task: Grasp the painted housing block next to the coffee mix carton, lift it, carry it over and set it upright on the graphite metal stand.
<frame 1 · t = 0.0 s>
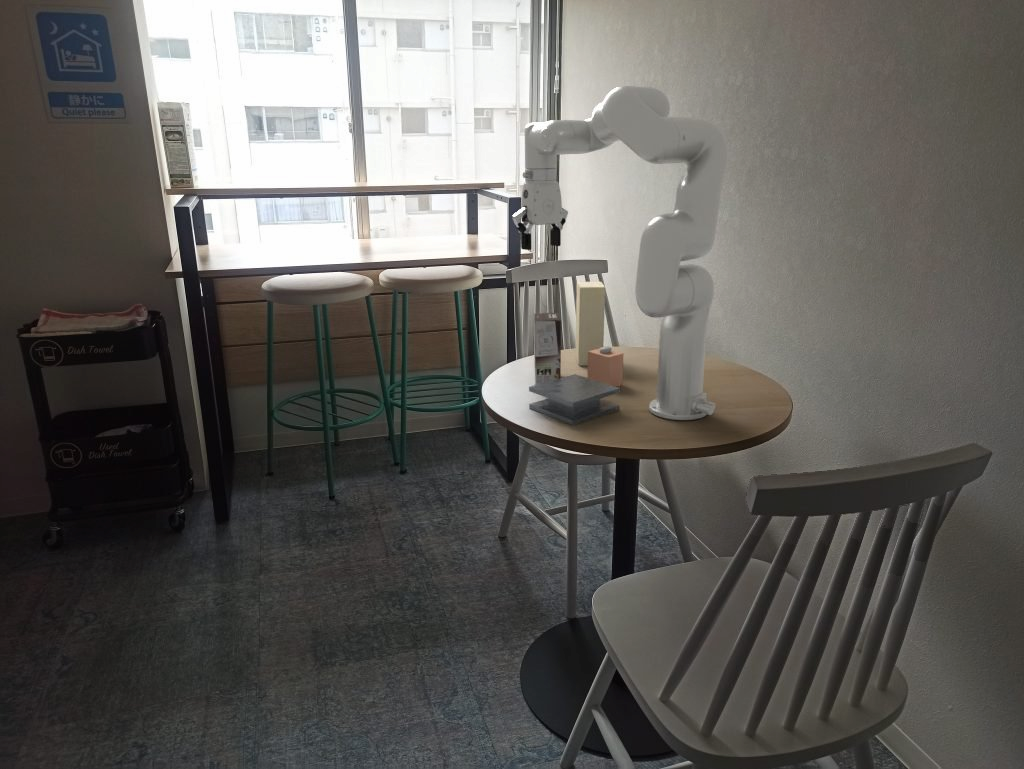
hand: (541, 247, 181), 31 cm above the table, tool pointing down, fingers open, 9 cm apart
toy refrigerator: (590, 362, 195), on the table
coffee box: (547, 380, 180), on the table
housing: (604, 383, 176), on the table
stand: (574, 409, 159), on the table
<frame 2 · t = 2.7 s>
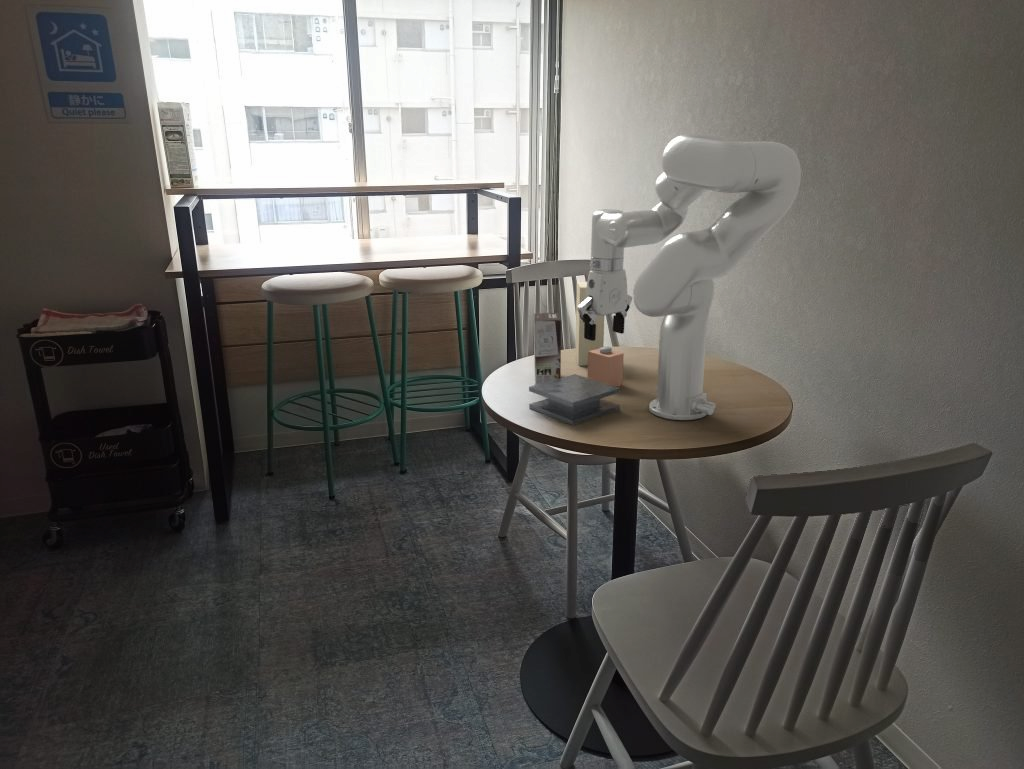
hand: (604, 335, 173), 12 cm above the table, tool pointing down, fingers open, 9 cm apart
nothing on the table moved.
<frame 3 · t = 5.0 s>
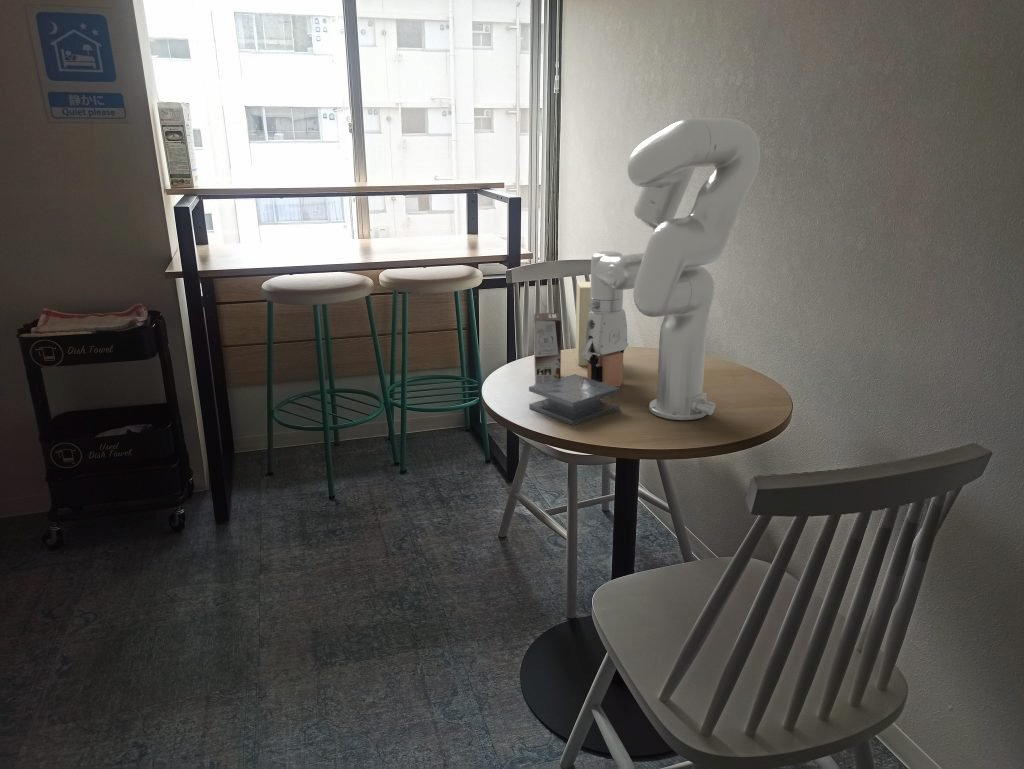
hand: (604, 377, 176), 1 cm above the table, tool pointing down, fingers closed on housing, 5 cm apart
housing: (604, 383, 176), on the table, touching gripper
everything else where it was.
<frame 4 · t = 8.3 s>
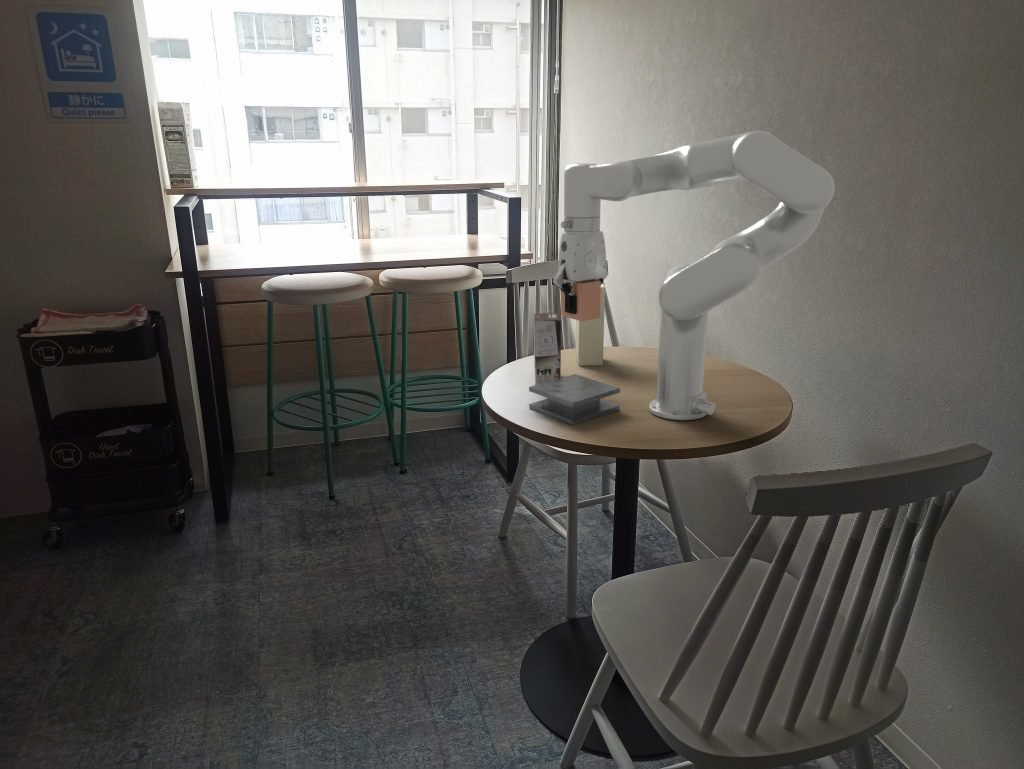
hand: (580, 310, 156), 21 cm above the table, tool pointing down, fingers closed on housing, 5 cm apart
housing: (580, 316, 157), point 20 cm above the table, touching gripper
everything else where it was.
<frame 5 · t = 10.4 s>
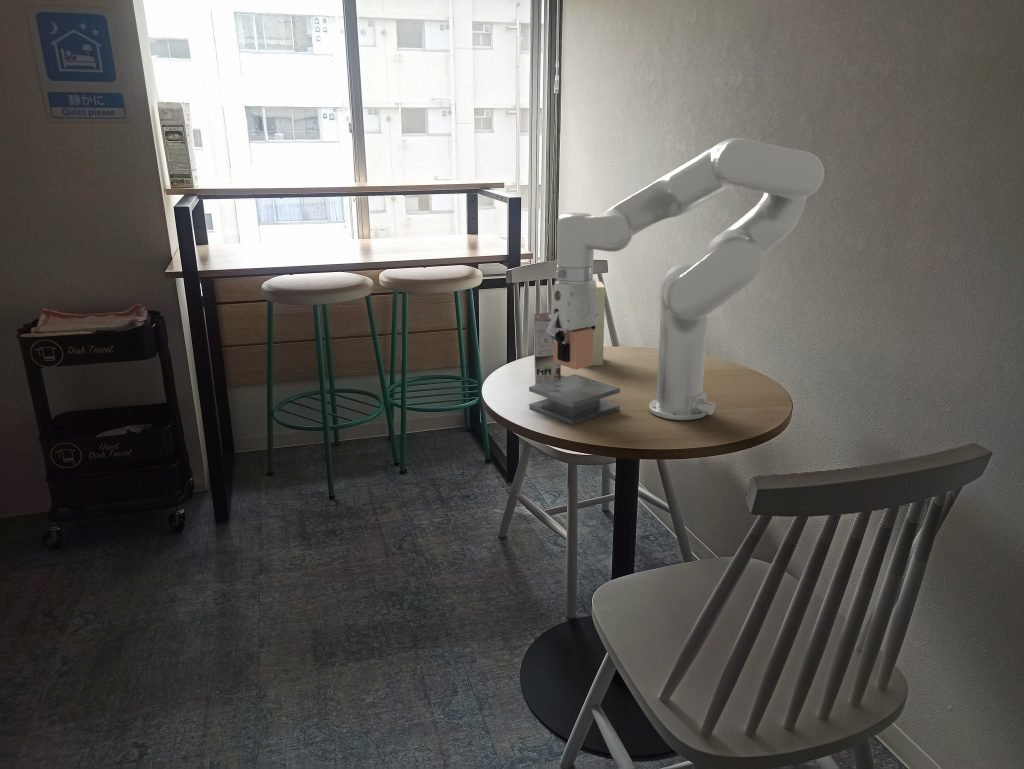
hand: (573, 357, 156), 12 cm above the table, tool pointing down, fingers closed on housing, 5 cm apart
housing: (572, 363, 156), point 10 cm above the table, touching gripper
everything else where it was.
when the fingers open (8 cm above the table, at t = 12.0 s): housing drops 1 cm, resting on stand.
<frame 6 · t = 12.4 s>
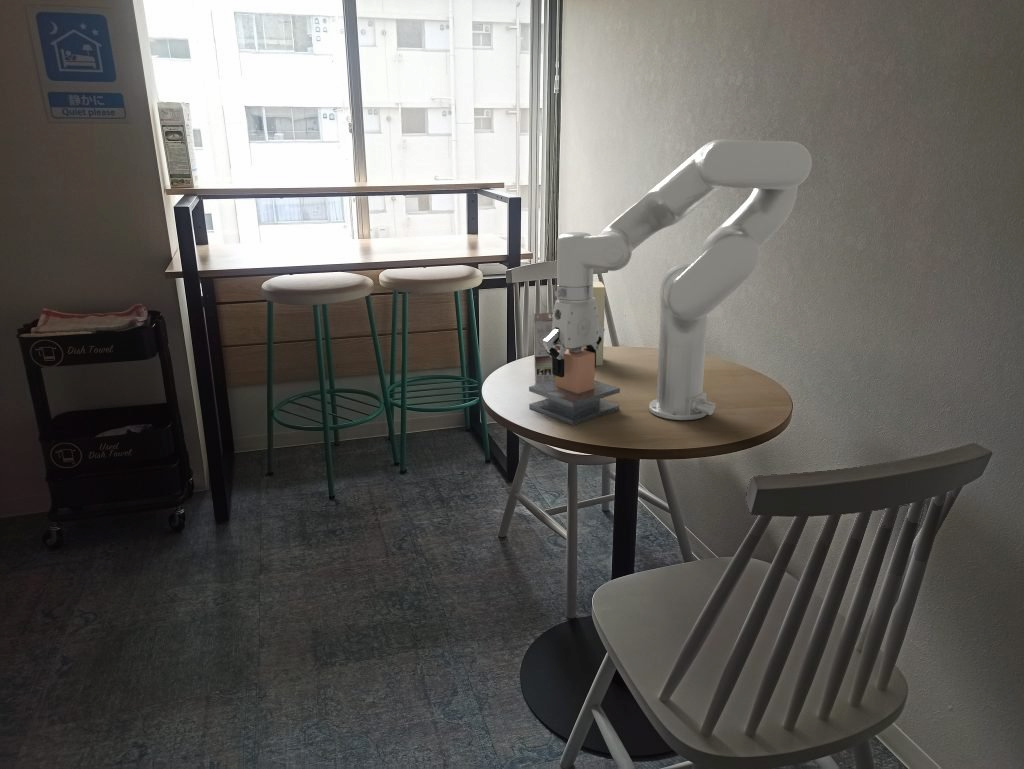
hand: (574, 371, 157), 9 cm above the table, tool pointing down, fingers open, 9 cm apart
housing: (574, 387, 158), point 5 cm above the table, touching stand
everything else where it was.
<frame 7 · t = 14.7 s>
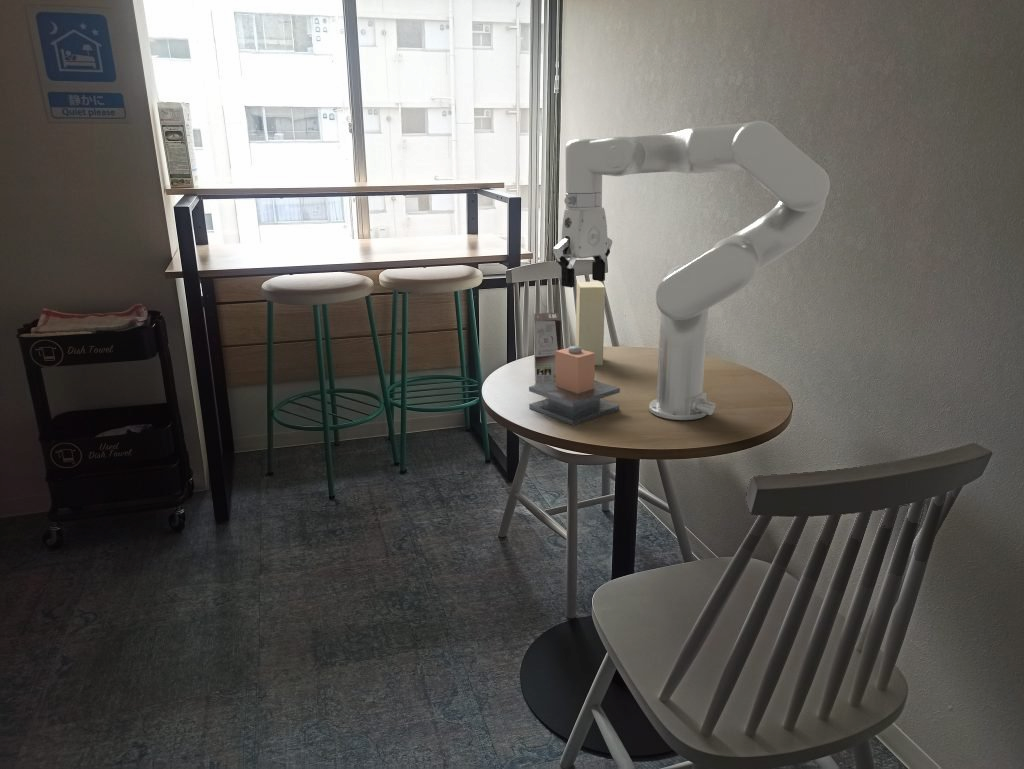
hand: (583, 283, 155), 27 cm above the table, tool pointing down, fingers open, 9 cm apart
nothing on the table moved.
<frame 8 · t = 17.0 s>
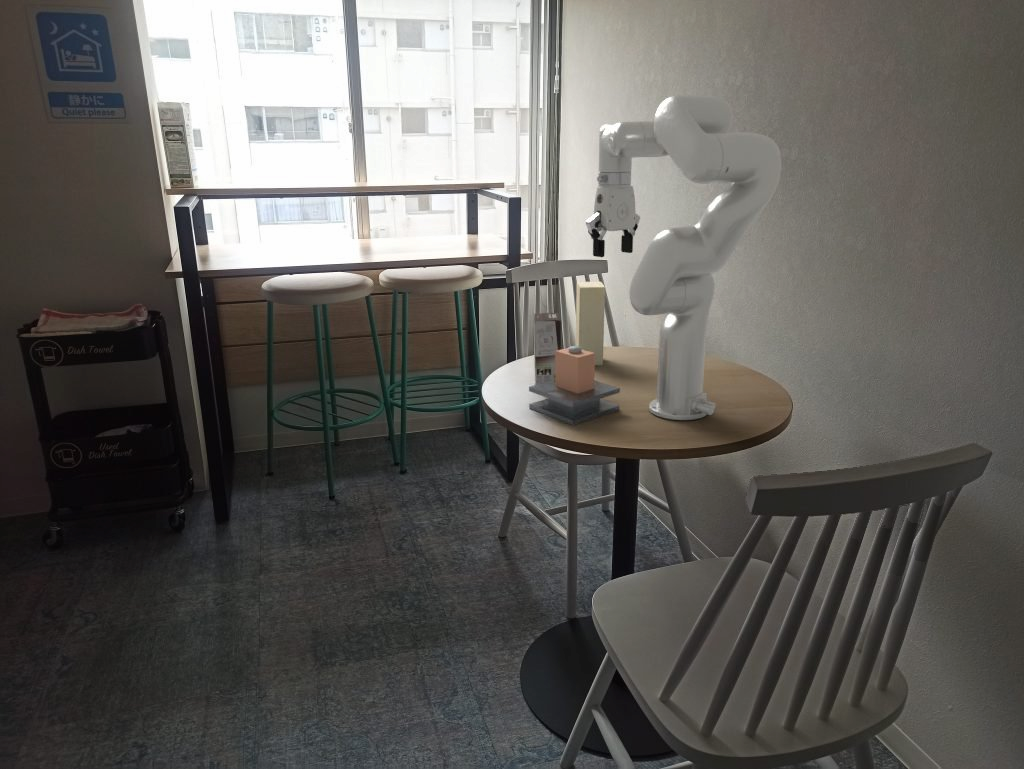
hand: (612, 254, 173), 30 cm above the table, tool pointing down, fingers open, 9 cm apart
nothing on the table moved.
at the end: housing inside the target area on the stand (0.2 cm from its centre), point 5.0 cm above the stand's base; housing tilted 0°; the gripper is holding nothing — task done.
